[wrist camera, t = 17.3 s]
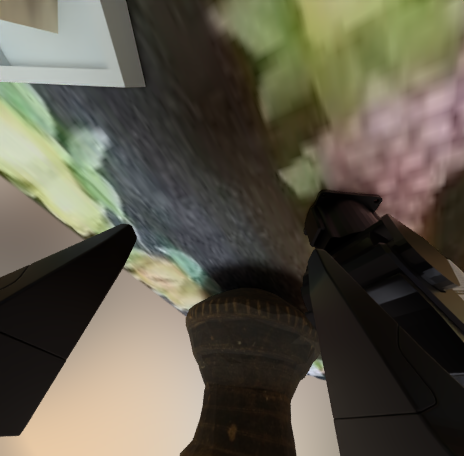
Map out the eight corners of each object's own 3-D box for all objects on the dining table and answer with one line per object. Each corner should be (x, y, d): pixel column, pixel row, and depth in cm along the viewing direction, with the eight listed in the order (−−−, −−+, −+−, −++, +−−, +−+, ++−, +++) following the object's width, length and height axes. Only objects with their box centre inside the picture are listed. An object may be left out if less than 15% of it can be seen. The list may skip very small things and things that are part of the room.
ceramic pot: (336, 278, 28) (436, 550, 12) (288, 328, 44) (302, 477, 27) (197, 250, 29) (107, 466, 13) (198, 309, 45) (158, 441, 28)
